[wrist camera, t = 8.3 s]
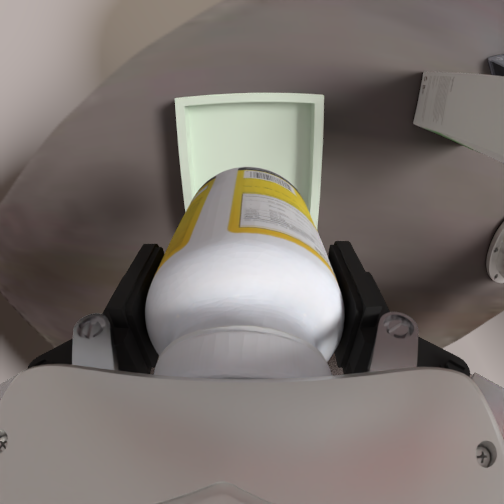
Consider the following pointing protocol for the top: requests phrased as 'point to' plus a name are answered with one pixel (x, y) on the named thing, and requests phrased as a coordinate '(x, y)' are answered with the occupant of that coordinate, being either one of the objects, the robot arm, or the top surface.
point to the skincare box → (464, 110)
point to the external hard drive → (497, 65)
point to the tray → (252, 139)
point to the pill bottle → (245, 285)
